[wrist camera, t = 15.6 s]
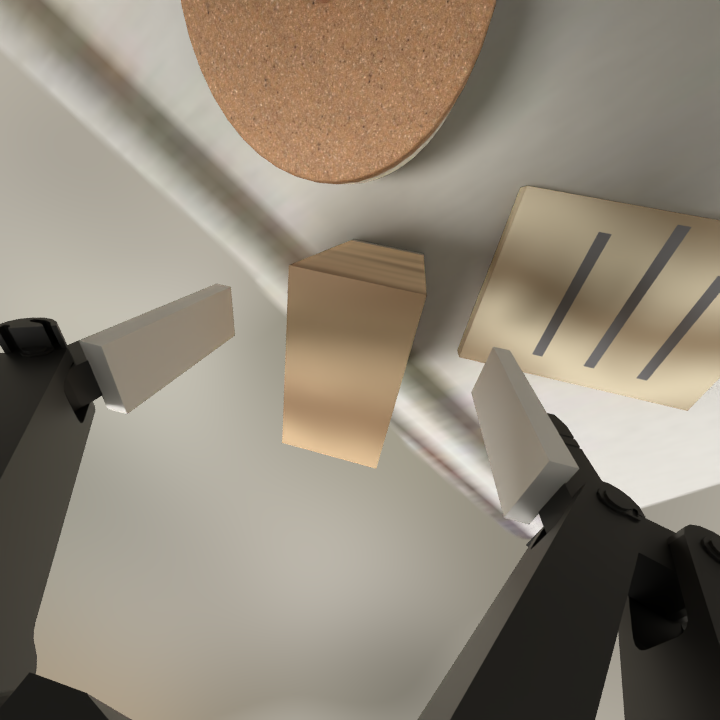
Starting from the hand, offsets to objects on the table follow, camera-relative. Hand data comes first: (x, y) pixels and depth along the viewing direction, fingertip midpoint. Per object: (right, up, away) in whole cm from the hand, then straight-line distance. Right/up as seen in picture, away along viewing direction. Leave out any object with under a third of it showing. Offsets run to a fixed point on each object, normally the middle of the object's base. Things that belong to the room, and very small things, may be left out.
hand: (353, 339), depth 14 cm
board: (+17, +3, +4) cm, 17 cm away
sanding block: (+2, +3, +8) cm, 8 cm away
